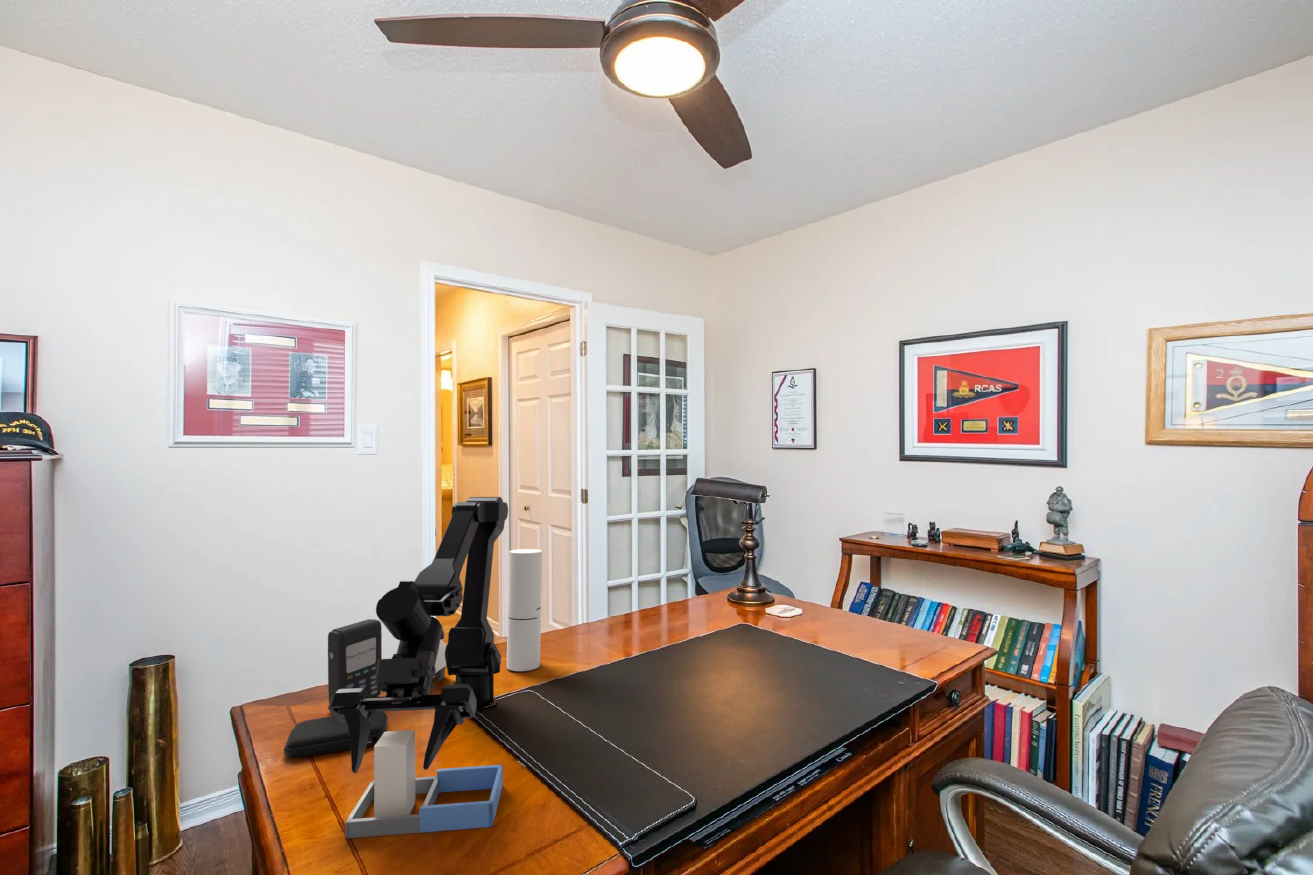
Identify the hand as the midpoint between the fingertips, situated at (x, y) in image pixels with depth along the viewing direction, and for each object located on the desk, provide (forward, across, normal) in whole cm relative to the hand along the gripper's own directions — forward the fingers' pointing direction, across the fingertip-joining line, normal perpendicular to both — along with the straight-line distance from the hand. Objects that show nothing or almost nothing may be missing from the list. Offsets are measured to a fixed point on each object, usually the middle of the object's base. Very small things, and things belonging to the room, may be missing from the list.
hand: (389, 770), depth 78 cm
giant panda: (-26, -10, +36) cm, 46 cm away
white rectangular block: (+3, 0, +6) cm, 7 cm away
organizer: (+3, +4, +6) cm, 8 cm away
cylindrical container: (-32, +10, +42) cm, 54 cm away
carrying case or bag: (-11, -16, +21) cm, 29 cm away
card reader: (-21, -19, +31) cm, 42 cm away
